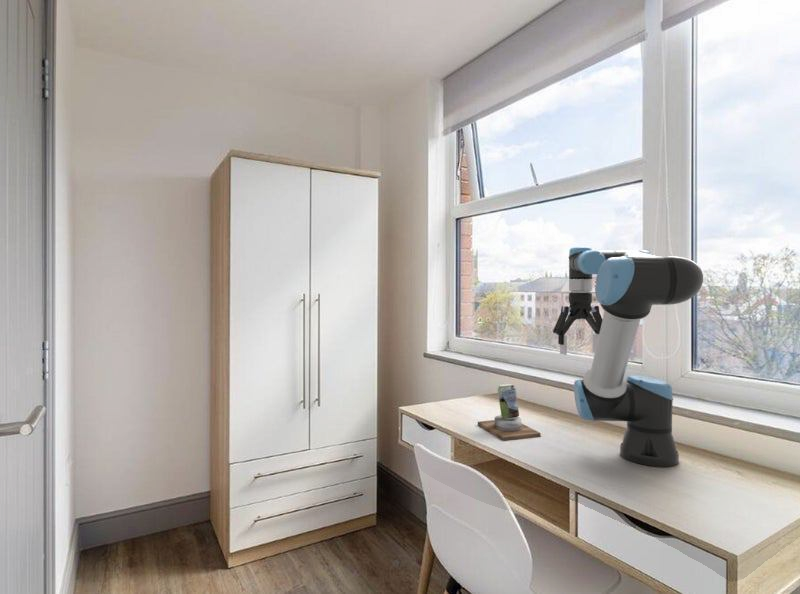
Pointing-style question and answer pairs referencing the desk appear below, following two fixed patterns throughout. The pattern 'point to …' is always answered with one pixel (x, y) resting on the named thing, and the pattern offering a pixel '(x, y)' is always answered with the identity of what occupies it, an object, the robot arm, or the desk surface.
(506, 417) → the beverage can
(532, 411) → the desk surface
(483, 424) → the post board
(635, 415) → the robot arm
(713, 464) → the desk surface
